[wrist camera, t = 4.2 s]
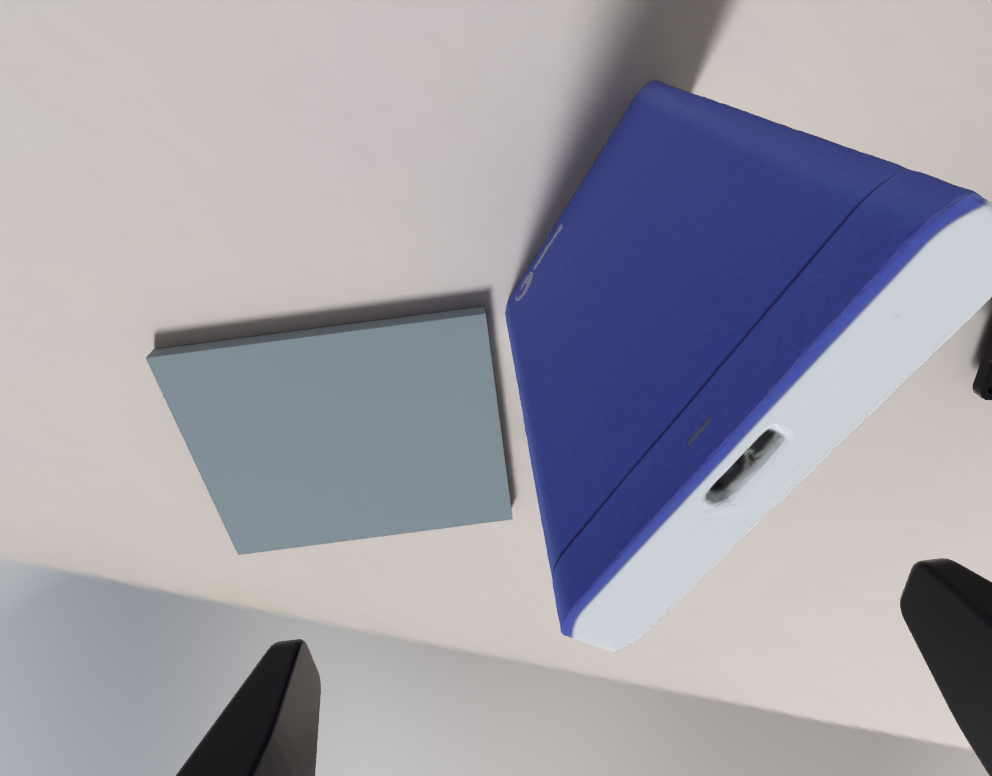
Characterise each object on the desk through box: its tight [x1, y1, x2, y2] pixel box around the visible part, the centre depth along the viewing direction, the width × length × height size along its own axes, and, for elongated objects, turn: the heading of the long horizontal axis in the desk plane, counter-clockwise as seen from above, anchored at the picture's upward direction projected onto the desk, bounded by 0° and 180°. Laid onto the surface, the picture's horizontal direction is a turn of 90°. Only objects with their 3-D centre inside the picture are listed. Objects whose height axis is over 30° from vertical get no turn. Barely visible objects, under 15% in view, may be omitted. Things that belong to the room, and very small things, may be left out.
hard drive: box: [505, 81, 992, 653], centre depth 14 cm, size 2×8×12 cm, turn 150°
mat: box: [146, 306, 513, 555], centre depth 22 cm, size 11×9×1 cm
